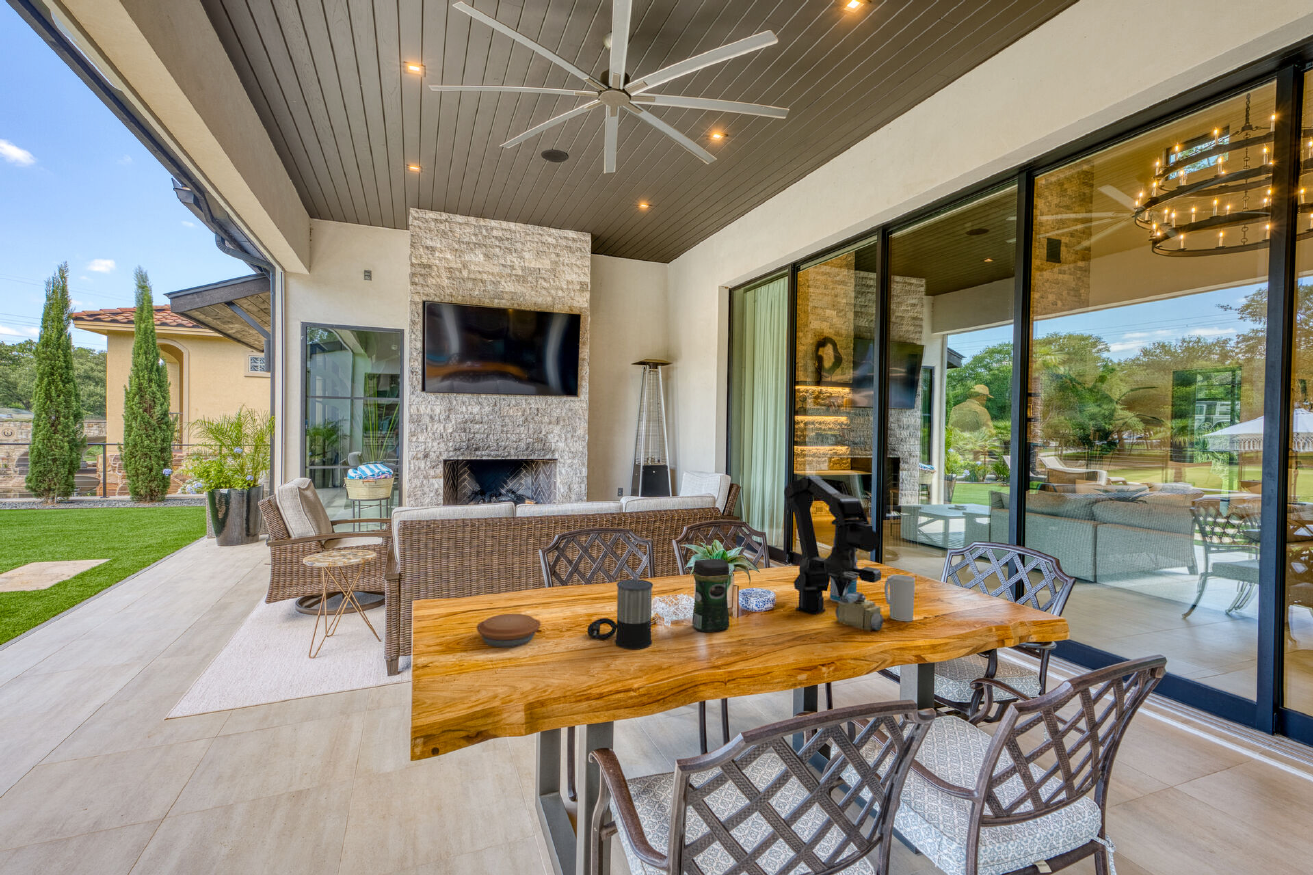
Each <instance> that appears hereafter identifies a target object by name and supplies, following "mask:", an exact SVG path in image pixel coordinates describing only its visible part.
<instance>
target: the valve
mask: <svg viewBox="0 0 1313 875" xmlns="http://www.w3.org/2000/svg"><path fill="white" fill-rule="evenodd" d="M875 604H876V601H872V600H868V599H866V601H865V602H857V601H854V602H852V603H849V604H848V603H843V602H839V603H838V605H837V606H836V609H835V616H836V618H837V622H838V623H840V622H841V623H840V624H843V623H845V624H844V625H846V624H847V625H846V626H849V625H850V626H849V627H853V626H854V627H853V628H856V629H859V628H860V630H864V631H867V630H868V631H867V632H872V631H873V630H874V631H877V632H878V631H880V630H881V629H882V628H883V625H884V617H883V614H881V611H882V610H881V609H882V608H881V606H877V605H875ZM871 630H872V631H871Z"/></svg>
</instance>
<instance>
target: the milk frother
mask: <svg viewBox="0 0 1313 875" xmlns="http://www.w3.org/2000/svg"><path fill="white" fill-rule="evenodd" d="M616 586H617V596H616V597H617V602H616V606H617V607H616V608H617V609H616V611H617V612H616V621H614V620H613V619H611V618H607V617H601V618H599V619H596V620H594V621H593V622H591V623H590V624H589V625H588V626H587V634H588V636H589V637H591V638H592V639H597V640H607V639H609V638H611V637H613V636H614V635H615V634H616V635H615V639H614V643H615V644H616V646H618V647H619V648H622V649H627V650H638V649H640V650H641V649H646V648H648V647H651V645H652V643H653V641H652V640H653V639H652V598H653V596H652V594H653V593H652V592H653V590H652V588H653V586H654V583H652V582H651V581H649V580H645V579H637V578H636V579H630V578H629V579H623V580H619V581H617V582H616ZM604 624H605V625H609V627H611V629H610V631H608V632H606V633H602V634H601V632H600V631H601V625H604Z"/></svg>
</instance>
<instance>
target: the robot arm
mask: <svg viewBox="0 0 1313 875" xmlns="http://www.w3.org/2000/svg"><path fill="white" fill-rule="evenodd" d="M783 494H784V498H785V500H786V504H787V506H788V507H789V508H790V510H791V511H792V512H793V514H794V517H795V519H794V520H795V523H796V530H797V535H798V540H799V545H800V551H801V556H802V560H801V562H800V565H799V567H798V570H799V574H798V575H797V577H796V578H795V579H794V580H793V586H794V590H797V591H798V606H796V607H795V610H797V611H799V612H804V613H807V614H809V615H810V614H811V615H816V614H820V613H822V612H825V611H826V609H825V608H824V602H825V601H824V599H825V597H824V595H823V593H824V592H828V588H829V587H830V586H829V585H830V581H831V578H832V579H833V580H834V582H835V584H836V587H837V590H838V594H839V597H841V596H844V595H845V593H846V591H847V589H848V587H849V586H850V584H851V583H852V581H853V580H855V579H857V580H858V579H860V580H861V581H863V582H867V583H872V584H873V583H874V584H875V583H876V582H878V581H881V580H882V572H881V570H880V569H879V568H875V567H870V566H864V567H862V568H855V566H856V565H857V564H856V562H855V555H856V553H857V552H858V550H861V551H864V552H868V553H869V552H870V553H871V552H874V551H875V550H876V549H877V548H878V546H879V543H880V538H879V536H878V534H877V532H875V531H874V530H873V528H874V526H873V525H872V524H869V523H870V522H869V520H868V519H869V518H868V516H867V514H866V512H865V509H864V508H863V505H862V503H861V501H860V500H859V499H858V498H856V497H854V496H852V495H848V494H844V493H841V492H840V491H838V490H836V489H835V488H834V487H833V486H831V485H830V484H829V483H827V482H826V481H825V480H823V479H822V477H821V476H819V475H805V476H802V478H800V479H797V480H795V481H792V482H790V483H788V484H787V486H786V487H784V491H783ZM814 496H816V497H817V498H818V499H819V500H821V501H822V502H823V503H825V504H826V505H827V506H828V511H829V512H830V513H829V514H831V515H832V516H833V517H834V519H833V520H832V521H831V525H832V526H833V525H834V538H835V539H834V538H833V546H832V547H831V553H830V555H828V556H827V557H826V558H825V557H821V555H820V554H819V552H820V551H819V549H818V548H819V547H818V543H817V537H816V533H815V528H814V523H813V522H814V521H813V517H812V512H811V508H812V506H813V503H814V499H815V498H814Z"/></svg>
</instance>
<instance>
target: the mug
mask: <svg viewBox="0 0 1313 875" xmlns="http://www.w3.org/2000/svg"><path fill="white" fill-rule="evenodd" d="M915 581H916V578H915V577H914V576H913V577H912V576H910V575H903V574H891V575H889V576H887V577H886V580H885V583H884V597H885V601H886V604H887V605H889V618H890V617H891V618H890V619H892V620H894V619H895V620H894V621H896V622H897V621H898V622H902V621H905V622H906V623H907V622H912V621H914V611H915V610H914V609H915V608H914V606H915V591H916V590H915V588H916V585H915V583H916V582H915ZM905 622H904V623H905Z"/></svg>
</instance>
